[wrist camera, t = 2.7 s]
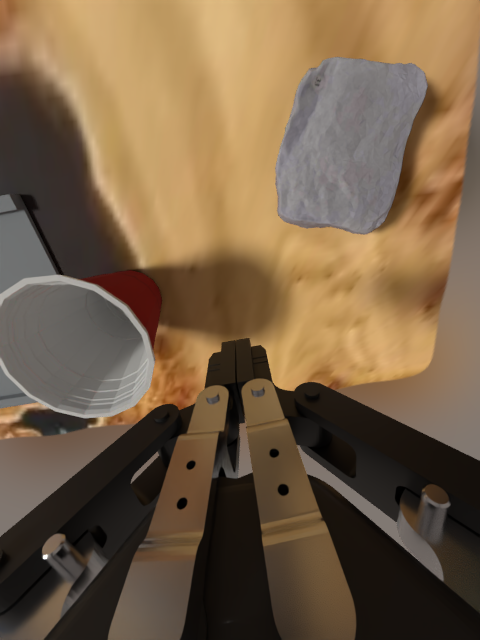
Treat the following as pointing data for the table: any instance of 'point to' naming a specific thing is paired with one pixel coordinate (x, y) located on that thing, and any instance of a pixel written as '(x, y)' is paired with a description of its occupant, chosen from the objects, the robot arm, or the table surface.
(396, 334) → the table surface
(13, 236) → the grey tray
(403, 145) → the stone block
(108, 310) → the plastic cup
